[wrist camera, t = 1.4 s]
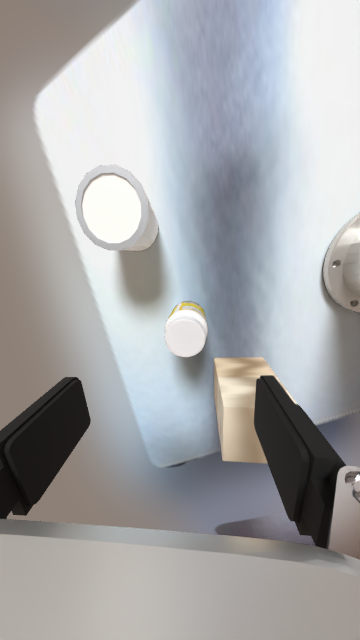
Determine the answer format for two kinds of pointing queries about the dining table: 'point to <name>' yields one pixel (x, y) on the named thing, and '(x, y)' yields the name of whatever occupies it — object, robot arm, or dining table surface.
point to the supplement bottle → (186, 329)
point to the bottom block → (238, 370)
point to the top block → (239, 419)
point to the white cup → (115, 210)
